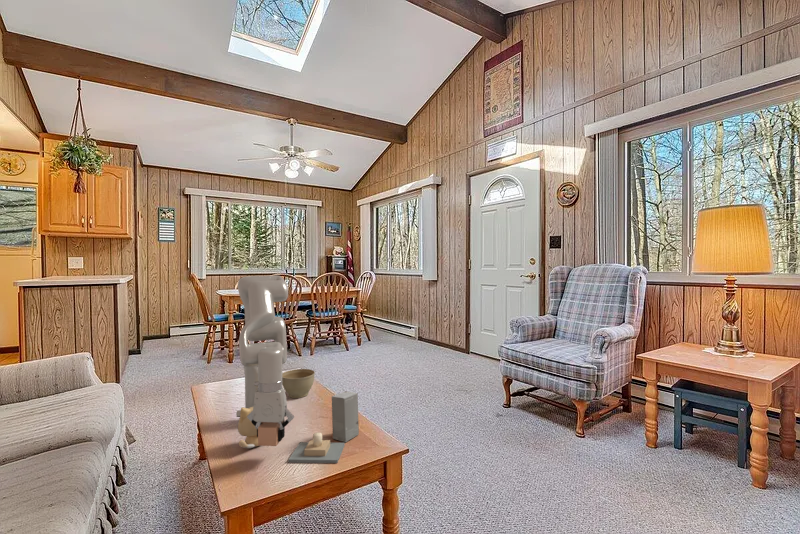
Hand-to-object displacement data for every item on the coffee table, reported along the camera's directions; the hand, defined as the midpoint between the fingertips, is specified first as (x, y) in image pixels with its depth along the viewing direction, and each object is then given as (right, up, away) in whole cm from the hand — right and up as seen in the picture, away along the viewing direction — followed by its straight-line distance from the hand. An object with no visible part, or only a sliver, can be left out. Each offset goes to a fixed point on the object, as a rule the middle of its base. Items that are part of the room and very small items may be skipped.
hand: (270, 438), depth 125 cm
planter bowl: (-8, -7, +62) cm, 63 cm away
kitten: (-9, -7, +10) cm, 15 cm away
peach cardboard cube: (0, -1, 0) cm, 1 cm away
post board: (+15, -7, +3) cm, 17 cm away
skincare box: (+22, -7, +16) cm, 28 cm away
